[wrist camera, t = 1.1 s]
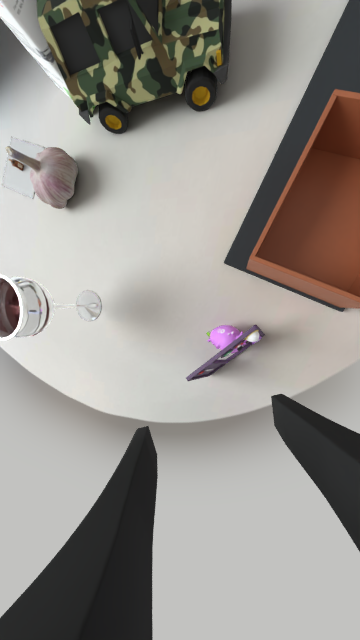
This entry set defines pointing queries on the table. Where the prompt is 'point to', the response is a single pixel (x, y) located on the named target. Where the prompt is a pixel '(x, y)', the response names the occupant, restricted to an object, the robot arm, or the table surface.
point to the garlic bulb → (50, 174)
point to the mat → (302, 136)
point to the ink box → (31, 36)
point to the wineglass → (36, 307)
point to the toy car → (137, 52)
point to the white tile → (20, 168)
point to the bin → (319, 213)
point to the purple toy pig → (226, 347)
